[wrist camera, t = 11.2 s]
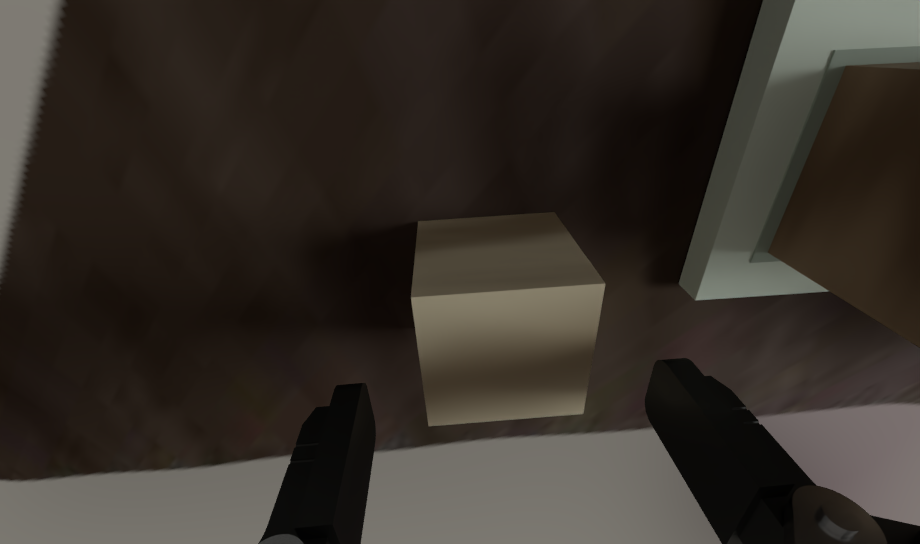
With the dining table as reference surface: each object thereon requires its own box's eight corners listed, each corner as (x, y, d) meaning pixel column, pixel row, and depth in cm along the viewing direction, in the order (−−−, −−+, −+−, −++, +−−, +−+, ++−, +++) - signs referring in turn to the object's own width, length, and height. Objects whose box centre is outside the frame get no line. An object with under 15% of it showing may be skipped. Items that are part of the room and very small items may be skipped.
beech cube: (418, 220, 14) (410, 297, 10) (553, 211, 14) (605, 283, 10) (430, 327, 17) (428, 426, 12) (544, 319, 17) (583, 413, 12)
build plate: (766, -13, 11) (803, -19, 10) (1100, -28, 11) (1172, -35, 10) (678, 283, 16) (696, 301, 15) (909, 268, 16) (943, 284, 15)
